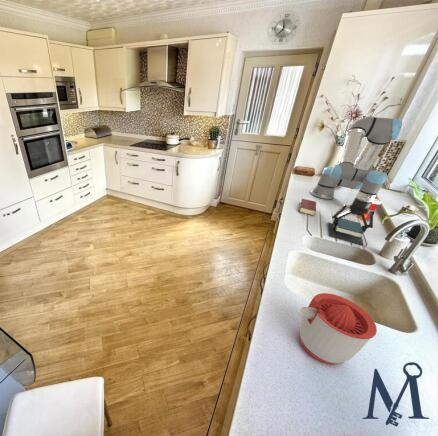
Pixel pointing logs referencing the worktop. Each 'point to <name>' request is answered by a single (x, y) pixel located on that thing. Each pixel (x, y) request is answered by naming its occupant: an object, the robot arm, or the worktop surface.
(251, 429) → the worktop surface
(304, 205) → the burgundy notebook
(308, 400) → the worktop surface
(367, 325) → the citrus juicer
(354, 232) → the teal hardback
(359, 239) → the rubber mat
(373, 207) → the paper cup
